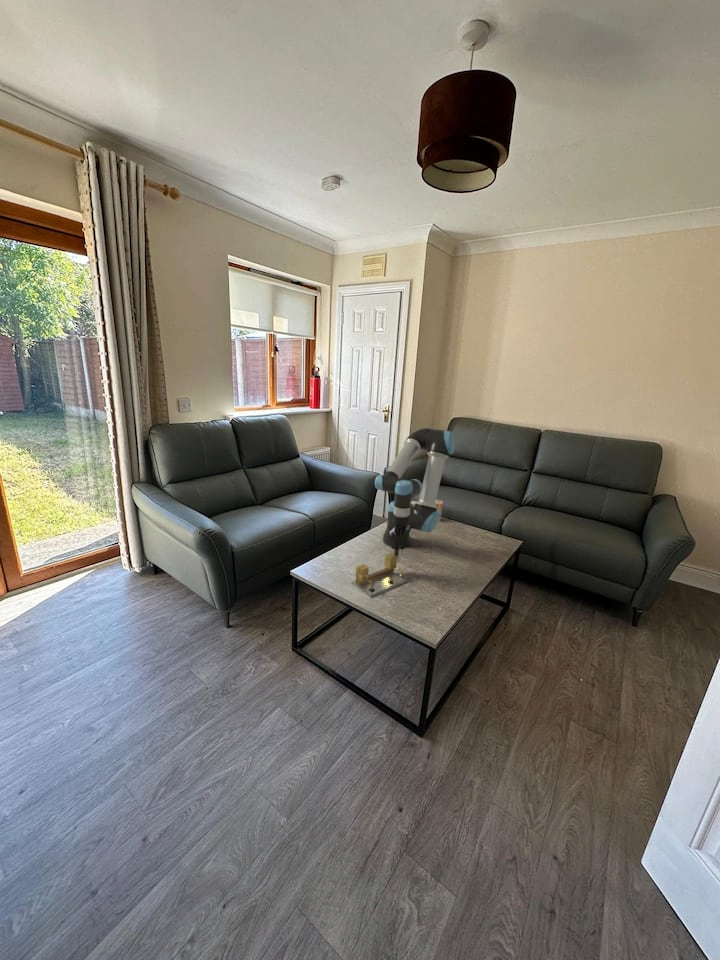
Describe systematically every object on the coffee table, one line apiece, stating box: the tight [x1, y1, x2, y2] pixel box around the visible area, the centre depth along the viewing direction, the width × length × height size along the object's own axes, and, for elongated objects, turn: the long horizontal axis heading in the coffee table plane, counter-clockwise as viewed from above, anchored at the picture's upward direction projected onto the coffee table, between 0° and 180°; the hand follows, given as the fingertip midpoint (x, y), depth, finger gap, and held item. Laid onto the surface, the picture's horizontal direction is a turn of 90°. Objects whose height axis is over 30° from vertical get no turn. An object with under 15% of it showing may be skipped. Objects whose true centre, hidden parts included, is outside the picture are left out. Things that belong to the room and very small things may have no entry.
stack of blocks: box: [411, 499, 444, 523], centre depth 248 cm, size 21×6×12 cm, turn 73°
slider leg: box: [384, 552, 404, 578], centre depth 177 cm, size 10×4×8 cm, turn 39°
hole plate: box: [351, 571, 407, 598], centre depth 173 cm, size 13×21×1 cm, turn 129°
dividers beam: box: [355, 563, 395, 589], centre depth 172 cm, size 10×21×8 cm, turn 129°
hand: (397, 561), depth 182 cm, fingers closed
